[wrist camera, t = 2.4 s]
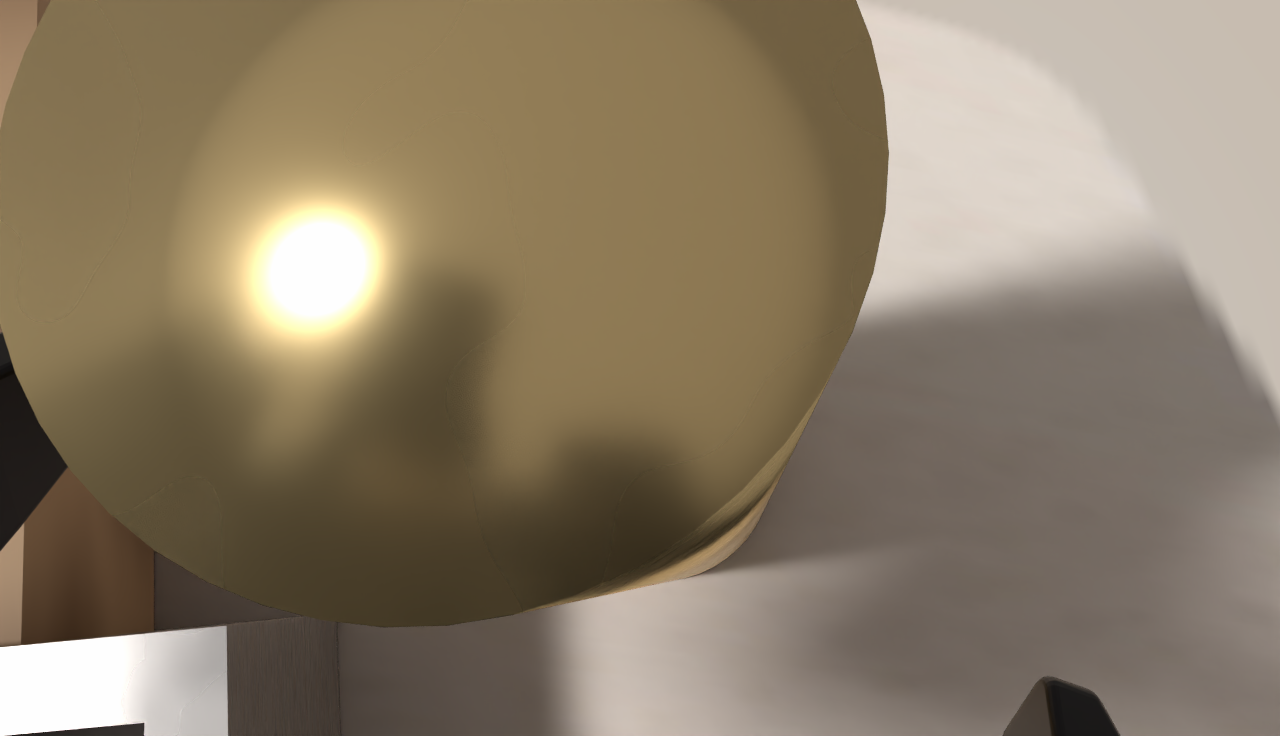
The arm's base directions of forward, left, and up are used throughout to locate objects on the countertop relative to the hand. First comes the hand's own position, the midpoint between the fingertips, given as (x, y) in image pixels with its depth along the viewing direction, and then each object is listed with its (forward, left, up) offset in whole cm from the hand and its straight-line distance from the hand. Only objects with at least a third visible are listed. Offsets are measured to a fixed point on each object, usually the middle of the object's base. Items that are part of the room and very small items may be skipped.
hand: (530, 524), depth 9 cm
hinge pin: (+1, -1, -9) cm, 9 cm away
